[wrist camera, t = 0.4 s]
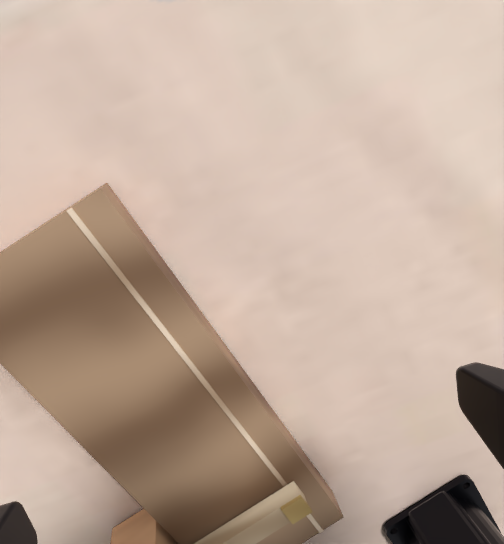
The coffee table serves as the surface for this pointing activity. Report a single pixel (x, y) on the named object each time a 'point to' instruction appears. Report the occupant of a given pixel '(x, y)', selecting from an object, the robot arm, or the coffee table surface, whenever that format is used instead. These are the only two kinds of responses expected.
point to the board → (145, 376)
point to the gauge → (231, 536)
